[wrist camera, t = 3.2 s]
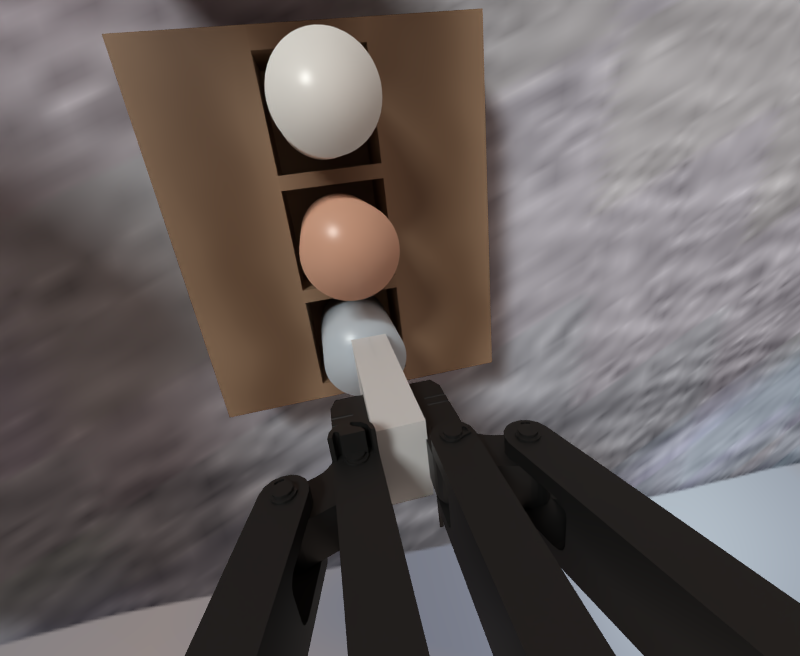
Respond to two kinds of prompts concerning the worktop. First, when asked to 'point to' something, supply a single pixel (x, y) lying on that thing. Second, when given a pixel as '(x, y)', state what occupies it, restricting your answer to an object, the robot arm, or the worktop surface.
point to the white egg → (323, 91)
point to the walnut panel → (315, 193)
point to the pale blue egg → (349, 324)
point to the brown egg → (347, 247)
